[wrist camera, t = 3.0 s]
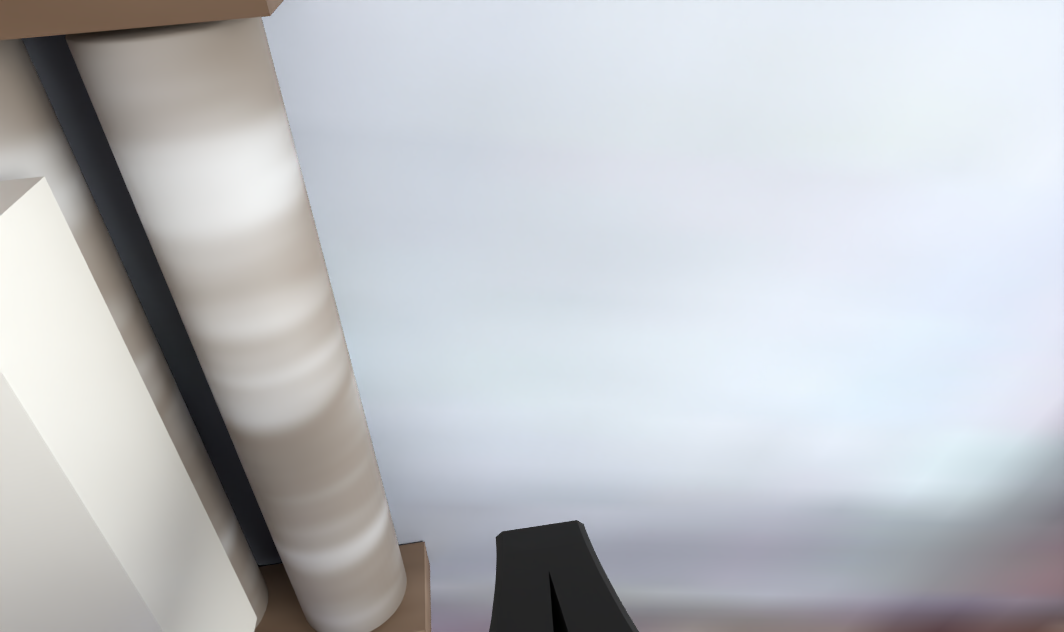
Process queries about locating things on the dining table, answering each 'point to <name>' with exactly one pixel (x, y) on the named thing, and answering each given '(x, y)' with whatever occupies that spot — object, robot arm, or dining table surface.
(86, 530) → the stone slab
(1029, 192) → the dining table surface
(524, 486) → the dining table surface
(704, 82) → the dining table surface
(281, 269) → the roller track
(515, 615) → the robot arm
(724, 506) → the dining table surface
